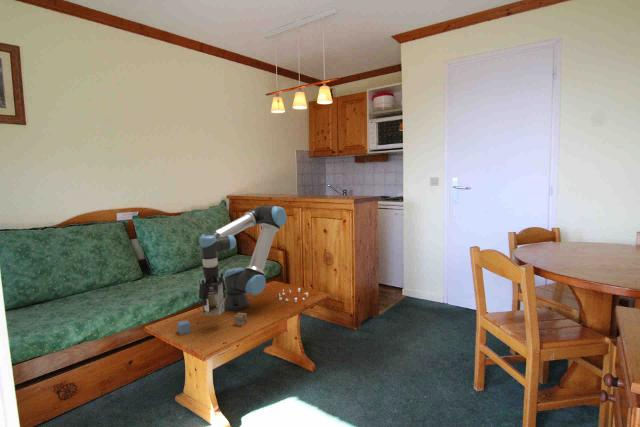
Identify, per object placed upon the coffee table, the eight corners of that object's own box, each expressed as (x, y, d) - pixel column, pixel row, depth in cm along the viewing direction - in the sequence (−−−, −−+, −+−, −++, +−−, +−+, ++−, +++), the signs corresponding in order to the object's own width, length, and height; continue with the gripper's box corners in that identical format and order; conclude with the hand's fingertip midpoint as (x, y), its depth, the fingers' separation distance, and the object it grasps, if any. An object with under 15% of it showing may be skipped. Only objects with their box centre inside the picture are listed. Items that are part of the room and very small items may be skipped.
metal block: (239, 321, 201) (238, 312, 201) (247, 322, 200) (246, 313, 199) (234, 325, 197) (233, 316, 196) (242, 326, 195) (241, 317, 194)
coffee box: (203, 314, 192) (200, 284, 190) (208, 309, 198) (206, 280, 196) (219, 315, 190) (217, 284, 188) (224, 310, 197) (222, 280, 194)
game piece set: (292, 290, 251) (292, 284, 251) (314, 296, 239) (314, 290, 238) (271, 298, 236) (271, 292, 236) (294, 305, 224) (294, 299, 223)
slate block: (187, 329, 194) (186, 319, 193) (190, 332, 190) (189, 322, 189) (177, 331, 191) (177, 322, 190) (180, 335, 187) (179, 325, 186)
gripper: (221, 260, 202) (224, 300, 205) (188, 270, 184) (192, 313, 187) (230, 261, 197) (233, 302, 201) (198, 272, 180) (202, 316, 183)
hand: (213, 307), depth 194 cm, fingers closed on coffee box, 8 cm apart
